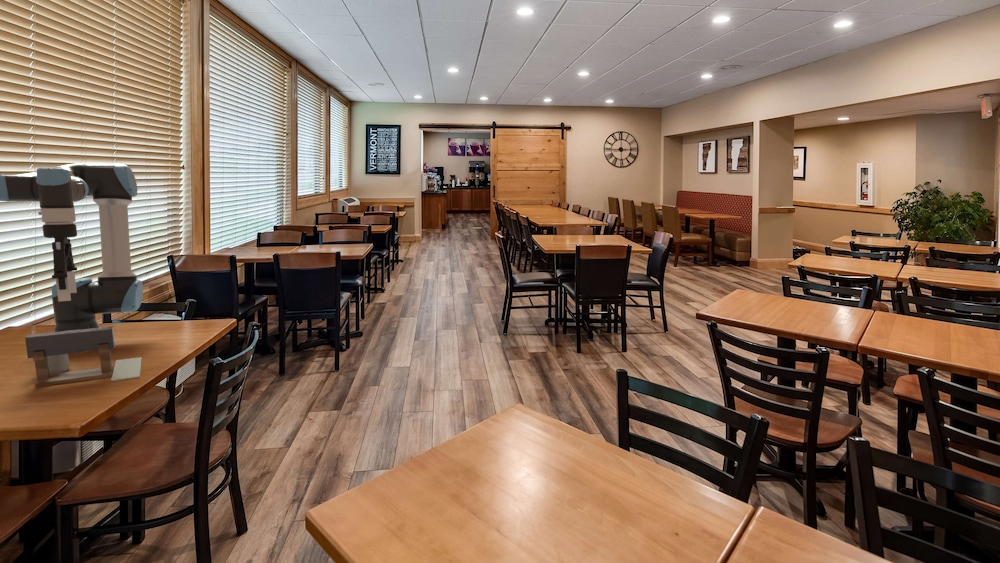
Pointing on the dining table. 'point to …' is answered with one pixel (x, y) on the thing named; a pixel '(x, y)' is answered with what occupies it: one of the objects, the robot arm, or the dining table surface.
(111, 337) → the rail
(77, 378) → the stand
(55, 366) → the cup
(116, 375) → the mat
